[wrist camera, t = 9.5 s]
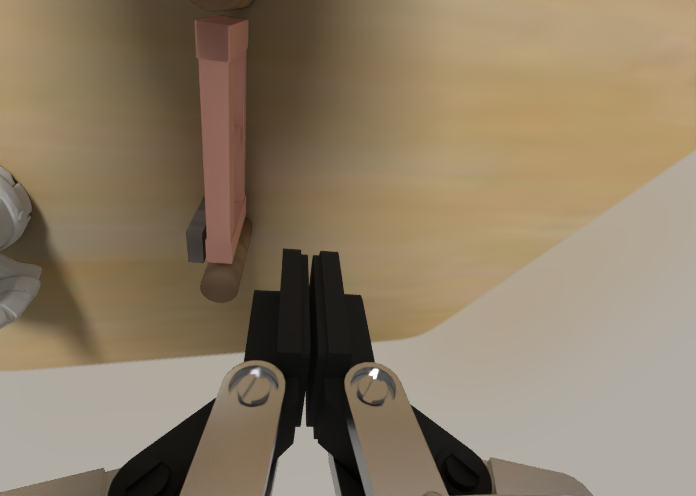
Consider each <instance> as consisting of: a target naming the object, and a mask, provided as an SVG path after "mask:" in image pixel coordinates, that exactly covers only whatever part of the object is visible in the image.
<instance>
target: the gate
mask: <svg viewBox="0 0 696 496" xmlns="http://www.w3.org/2000/svg"><path fill="white" fill-rule="evenodd" d="M248 22H249V20H247V19H241V18H235V17H229V16H223V15H221V16H216V17H210V18H204V19H198V20H194V24H195V44H196V58H198V62H199V83H200V104H201V126H202V147H203V168H204V190H205V211H206V232H207V238H206V240H205V246H206V262H212V263H227V264H232V262H233V258H234V255H235V251H236V247H237V244H238V240H239V237H240V233H241V229H242V226H243V222H244V219H245V215H246V195H245V144H246V55H247V49H248Z"/></svg>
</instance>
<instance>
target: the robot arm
mask: <svg viewBox="0 0 696 496" xmlns="http://www.w3.org/2000/svg"><path fill="white" fill-rule="evenodd" d="M305 391H306V426H307V427H313V429H314V439H318V443H319V444H320V445H321V446H322V447H323V448H324V449H325V450H327V451H328V456H329V465H330V469H331V474H332V479H333V484H334V488H335V493H336V496H593V495H592V494H591V493H590V491H589V490H588V489H587V488H586V487H585V486H584V485H583V484H582V483H581V482H579V481H577V480H576V479H575V478H574V477H571V476H569V475H566V474H563V473H560V472H555V471H551V470H546V469H541V468H536V467H532V466H527V465H523V464H518V463H514V462H510V461H505V460H500V459H495V458H490V459H489V461H486V460H481V458H480V457H479V456H477V455H476V454H475V453H474V452H473V451H472V450H471V449H469V448H468V447H467V446H465V445H464V444H462V443H461V442H460V441H459V440H457V439H456V438H454V437H453V436H452V435H450V434H449V433H448V432H447V431H445V430H444V429H443V428H441V427H440V426H439V425H437V424H436V423H435V422H433V421H432V420H431V419H429V418H428V417H426V416H425V415H424V414H423V413H421V412H420V411H418V410H417V409H416V408H414V407H413V406H412V405H410V403H409V401H408V398H407V396H406V393H405V391H404V389H403V386H402V384H401V382H400V380H399V378H398V377H397V375H396V374H395V373H394V372H393V371H391V369H389V368H387V367H385V366H383V365H381V364H378V363H375V361H374V356H373V351H372V346H371V341H370V335H369V330H368V325H367V320H366V315H365V310H364V305H363V300H362V297H361V295H349V294H344V289H343V282H342V275H341V268H340V261H339V254H338V252H329V251H320V254H319V256H318V255H313V259H312V267H311V275H310V283H309V276H308V255H302V254H301V250H297V249H283V259H282V274H281V288H280V291H261V290H255V291H254V296H253V303H252V310H251V316H250V323H249V330H248V337H247V344H246V351H245V358H244V362H243V363H241V364H239V365H237V366H235V367H233V368H232V369H231V370H230V371H229V372H228V373H227V374H226V376H225V378H224V380H223V381H222V384H221V387H220V389H219V392H218V395H217V397H216V398H215V399H213V400H212V401H211V402H209V403H208V404H207V405H205V406H204V407H202V408H201V409H200V410H198V411H197V412H196V413H194V414H193V415H191V416H190V417H189V418H187V419H186V420H184V421H183V422H182V423H180V424H179V425H178V426H176V427H175V428H173V429H172V430H171V431H169V432H168V433H166V434H165V435H164V436H162V437H161V438H159V439H158V440H157V441H155V442H154V443H153V444H151V445H150V446H149V447H147V448H146V449H144V450H143V451H141V452H140V453H139V454H137V455H136V456H135V457H133V458H132V459H131V460H129V461H128V462H127V463H126V464H125V465H124V466H123V467H122V468H120V469H116V470H112V471H107V472H105V470H104V468H101V469H97V470H92V471H88V472H84V473H80V474H76V475H71V476H68V477H63V478H59V479H55V480H51V481H46V482H42V483H38V484H34V485H29V486H25V487H21V488H17V489H13V490H9V491H4V492H0V496H272V491H273V486H274V481H275V476H276V471H277V465H278V458H279V456H281V455H282V454H283V453H284V451H286V450H287V449H288V448H289V447H290V446H291V445H292V444H293V441H294V433H295V427H300V425H301V419H302V412H303V405H304V397H305Z"/></svg>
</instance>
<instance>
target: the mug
mask: <svg viewBox="0 0 696 496" xmlns="http://www.w3.org/2000/svg"><path fill="white" fill-rule="evenodd" d="M12 178H13V177H12V175H11V173H9V172H8V171H7V170H5V169H4V168H2V167H0V251H2V250H4V249H6V248H7V247H9V246H10V245H12V244H13V243H14V242H16V241H17V240H18V239H19V238H20V237H21V235H22V234H23V232H24V230H25V228H26V226H27V225H28V222H29V221H30V219H31V216H30V215H29V213H30V212H31V211H32V206H31V202H30V198H29V196H28V194H27V192H26V190H25V189H24V187H23V186H22V185H21V184H20V183H18V184H15V182H14V181H13V179H12ZM41 272H42V269H41V267H40V266H39V265H36V264H29V263H22V262H18V261H16V260H13V259H11V258H9V257H7V256H5V255H3V254H1V253H0V279H2V280H1V281H0V329H1V328H3V327H4V326H6V325H7V324H9V323H11V322H13V321H15V320H17V319H18V318H19V317H20V316H21V315H22V313H23V312H24V310H25V309H26V308H27V307H28V306H29V303H30V302H31V301H32V300H33V299H35V297H36V296H37V294H38V292H39V290H40V286H41V282H40V281H39V279H40V275H41Z"/></svg>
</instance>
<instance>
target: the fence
mask: <svg viewBox="0 0 696 496" xmlns="http://www.w3.org/2000/svg"><path fill="white" fill-rule="evenodd" d="M191 1H192V2H193V3H194V4H196V5H197V6H199V7H200V8H202V9H205V10H208V11H221V10H230V9H239V8H245V7H247V6H249V5H250V4H251V3H252V2H253V1H254V0H191ZM251 232H252V222H251V221H250V219H249V218H248V217H247V216H245V219H244V222H243V226H242V229H241V233H240V237H239V240H238V244H237V247H236V251H235V255H234V258H233V262H232V264H227V263H212V262H209V263H208V265H207V268H206V271H205V273H204V276H203V279H202V282H201V285H200V289H201V292H202V294H203V295H204V296H205V297H206V298H207V299H209V300H211V301H214V302H218V303H224V302H228V301H231V300H232V299H234V298H235V297H236V295H237V293H238V289H239V284H240V280H241V276H242V271H243V267H244V263H245V258H246V254H247V250H248V245H249V241H250V237H251ZM186 237H187V249H188V261H189V262H197V263H204V261H205V258H206V246H205V240H206V238H207V232H206V211H205V196H204V198H203V200H202V202H201V204H200V206H199V208H198V210H197V212H196V213H195V215H194V217H193V219H192V221H191V223H190V225H189V227H188V229H187V231H186Z"/></svg>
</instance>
